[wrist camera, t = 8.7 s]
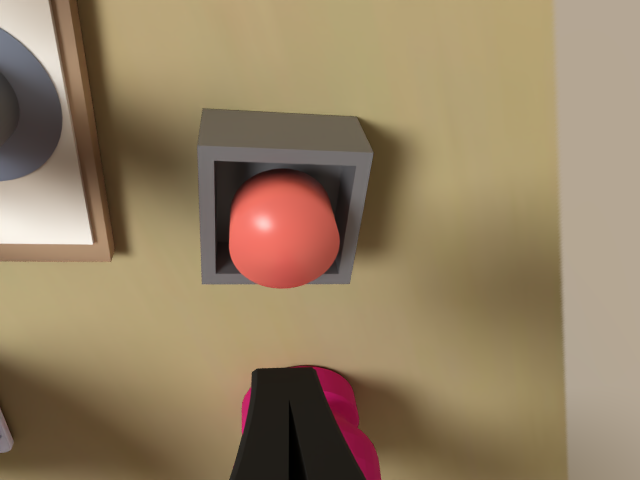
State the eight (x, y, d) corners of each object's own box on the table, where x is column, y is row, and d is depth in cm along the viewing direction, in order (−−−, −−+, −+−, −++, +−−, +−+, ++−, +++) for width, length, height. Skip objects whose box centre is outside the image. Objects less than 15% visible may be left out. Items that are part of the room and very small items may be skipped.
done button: (325, 253, 20) (332, 288, 18) (229, 253, 19) (228, 288, 18) (336, 170, 18) (346, 200, 16) (230, 166, 17) (229, 197, 15)
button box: (337, 239, 22) (349, 284, 20) (206, 237, 21) (201, 284, 19) (356, 116, 19) (373, 152, 17) (202, 108, 18) (197, 145, 16)
